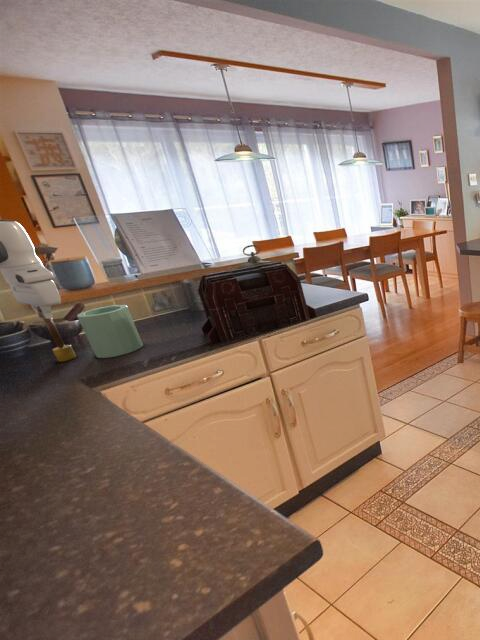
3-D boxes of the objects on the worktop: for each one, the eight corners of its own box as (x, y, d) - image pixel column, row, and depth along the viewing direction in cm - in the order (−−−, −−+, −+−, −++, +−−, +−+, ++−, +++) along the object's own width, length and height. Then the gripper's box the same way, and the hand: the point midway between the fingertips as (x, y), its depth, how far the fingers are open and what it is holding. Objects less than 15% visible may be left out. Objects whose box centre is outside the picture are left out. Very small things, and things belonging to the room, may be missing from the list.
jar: (108, 359, 138) (89, 318, 132) (88, 355, 142) (69, 315, 137) (150, 345, 148) (134, 306, 142) (130, 341, 153) (114, 303, 147)
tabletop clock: (255, 309, 181) (237, 249, 172) (244, 306, 186) (225, 248, 177) (287, 299, 192) (272, 242, 183) (276, 297, 197) (260, 241, 188)
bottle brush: (61, 362, 138) (34, 307, 131) (55, 360, 140) (27, 306, 133) (79, 356, 142) (53, 303, 135) (72, 355, 143) (46, 302, 137)
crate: (301, 308, 178) (288, 257, 170) (319, 317, 165) (305, 262, 157) (202, 333, 156) (181, 276, 148) (212, 345, 143) (191, 284, 135)
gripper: (-5, 275, 132) (17, 318, 137) (26, 278, 123) (49, 323, 129) (23, 270, 137) (44, 312, 142) (55, 272, 129) (75, 316, 134)
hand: (46, 317), depth 135 cm, fingers closed on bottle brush, 2 cm apart
